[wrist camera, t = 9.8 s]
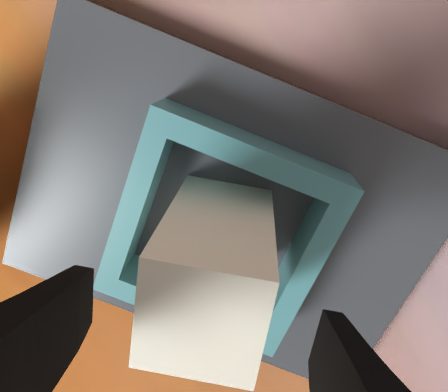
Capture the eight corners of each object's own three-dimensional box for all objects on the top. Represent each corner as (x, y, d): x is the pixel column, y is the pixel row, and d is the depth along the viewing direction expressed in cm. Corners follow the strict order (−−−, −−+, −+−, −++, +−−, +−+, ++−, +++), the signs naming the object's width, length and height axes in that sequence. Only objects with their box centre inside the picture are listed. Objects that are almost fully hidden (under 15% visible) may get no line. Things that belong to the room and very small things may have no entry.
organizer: (478, 162, 18) (529, 187, 15) (339, 375, 23) (353, 432, 20) (72, -7, 18) (26, -21, 14) (15, 252, 22) (-30, 289, 19)
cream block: (271, 190, 19) (279, 282, 11) (256, 264, 20) (253, 391, 12) (187, 175, 19) (138, 257, 11) (177, 249, 20) (128, 367, 13)
